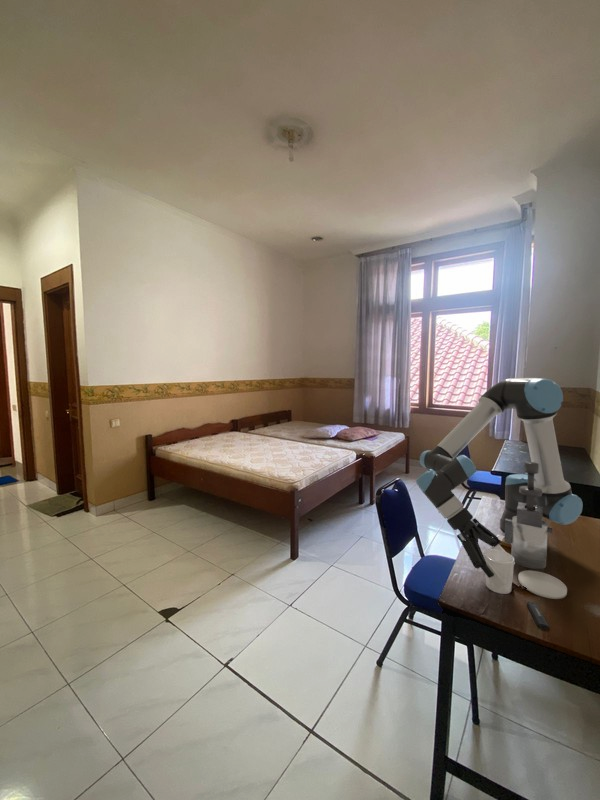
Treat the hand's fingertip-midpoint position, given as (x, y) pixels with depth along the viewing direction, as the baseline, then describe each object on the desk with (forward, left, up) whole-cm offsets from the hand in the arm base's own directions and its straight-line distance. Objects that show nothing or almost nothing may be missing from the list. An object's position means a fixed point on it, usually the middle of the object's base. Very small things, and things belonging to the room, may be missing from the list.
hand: (507, 575), depth 99 cm
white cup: (+1, -2, -5) cm, 5 cm away
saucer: (-12, +1, -5) cm, 13 cm away
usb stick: (+1, +11, -5) cm, 12 cm away
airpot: (-20, -11, -5) cm, 23 cm away
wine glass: (-20, -11, +14) cm, 27 cm away
